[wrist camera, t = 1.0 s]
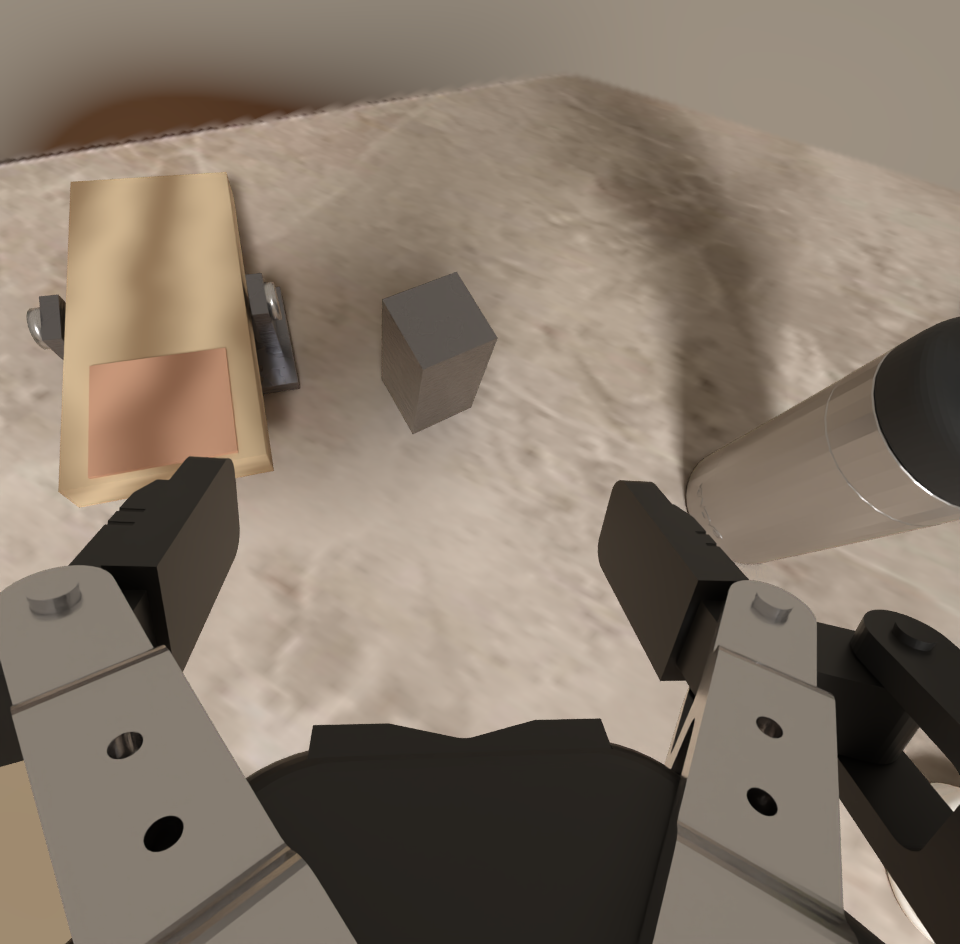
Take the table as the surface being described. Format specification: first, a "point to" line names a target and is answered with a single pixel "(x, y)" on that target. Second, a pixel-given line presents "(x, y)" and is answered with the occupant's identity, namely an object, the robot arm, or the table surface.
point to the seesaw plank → (156, 337)
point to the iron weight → (434, 350)
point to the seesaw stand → (265, 320)
